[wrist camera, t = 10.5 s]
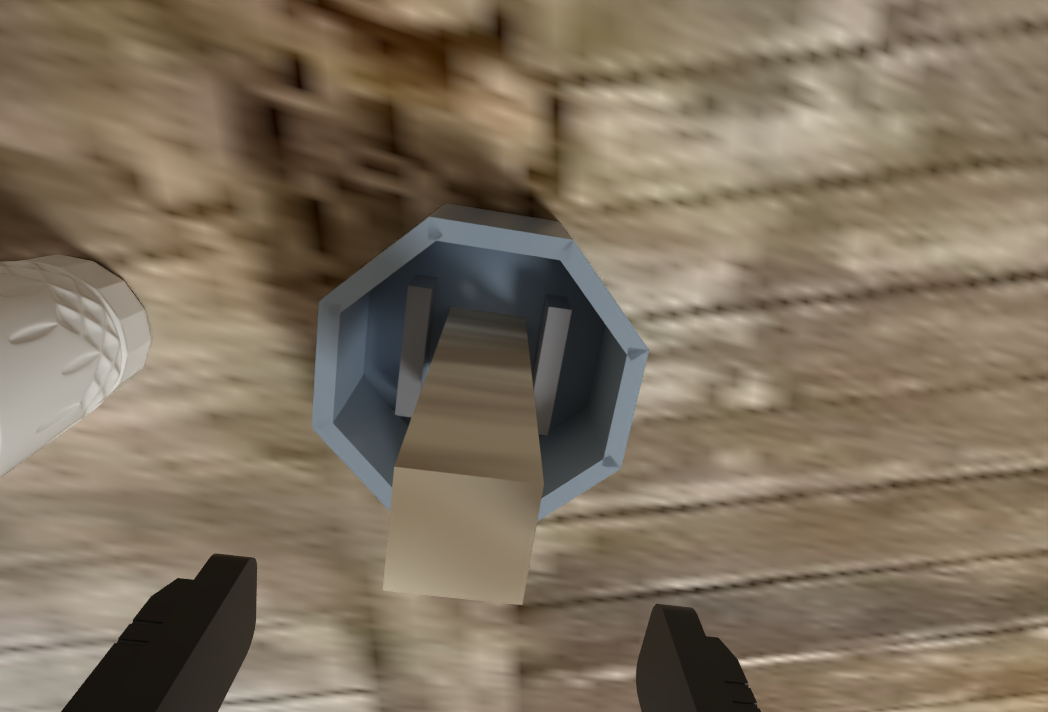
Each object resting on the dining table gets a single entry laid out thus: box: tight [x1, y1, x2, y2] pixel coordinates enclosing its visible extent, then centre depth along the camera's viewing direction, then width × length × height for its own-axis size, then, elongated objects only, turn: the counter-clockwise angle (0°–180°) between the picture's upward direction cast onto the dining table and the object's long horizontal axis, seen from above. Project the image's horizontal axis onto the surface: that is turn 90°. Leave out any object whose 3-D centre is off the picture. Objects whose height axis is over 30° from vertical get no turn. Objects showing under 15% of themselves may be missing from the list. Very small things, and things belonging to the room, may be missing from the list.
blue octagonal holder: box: [312, 203, 649, 521], centre depth 26 cm, size 13×13×6 cm
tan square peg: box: [383, 307, 544, 605], centre depth 22 cm, size 4×4×15 cm
